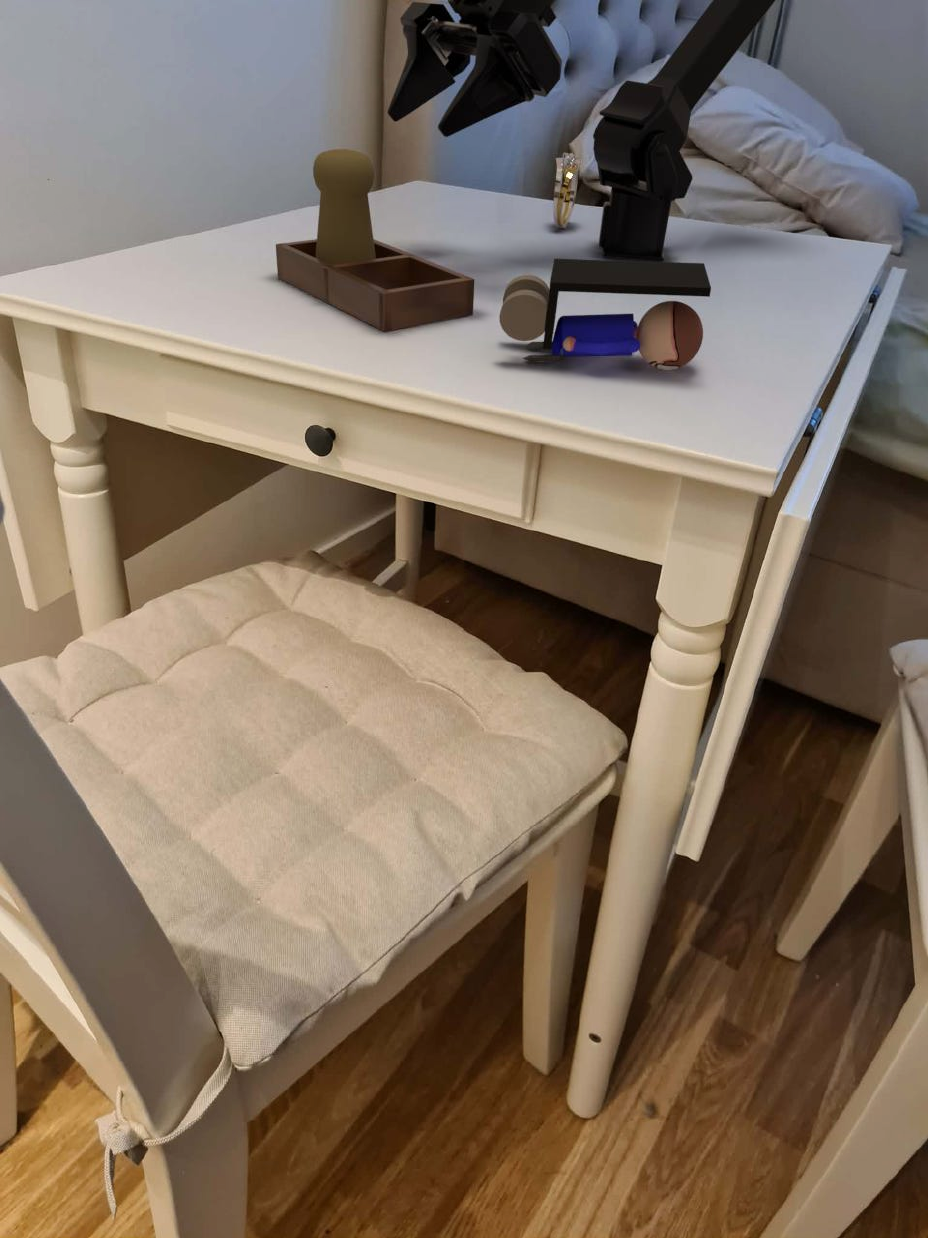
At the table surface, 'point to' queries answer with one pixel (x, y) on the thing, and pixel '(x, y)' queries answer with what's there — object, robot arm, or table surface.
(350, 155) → the cork
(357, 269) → the frame
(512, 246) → the table surface
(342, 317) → the table surface
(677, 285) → the figurine character
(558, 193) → the ring
